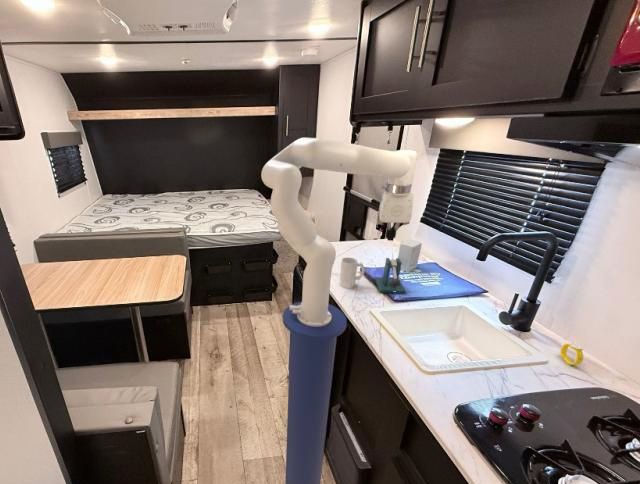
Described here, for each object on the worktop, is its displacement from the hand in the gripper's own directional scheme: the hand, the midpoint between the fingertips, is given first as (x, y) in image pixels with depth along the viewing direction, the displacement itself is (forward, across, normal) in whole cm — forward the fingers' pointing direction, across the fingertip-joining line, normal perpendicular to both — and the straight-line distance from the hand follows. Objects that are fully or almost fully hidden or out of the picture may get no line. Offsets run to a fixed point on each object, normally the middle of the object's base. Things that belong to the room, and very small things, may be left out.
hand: (389, 239), depth 114 cm
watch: (+27, +47, -28) cm, 61 cm away
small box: (+27, +20, +34) cm, 48 cm away
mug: (+27, -9, +14) cm, 32 cm away
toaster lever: (+20, +7, +11) cm, 24 cm away
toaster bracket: (+27, +7, +14) cm, 31 cm away
